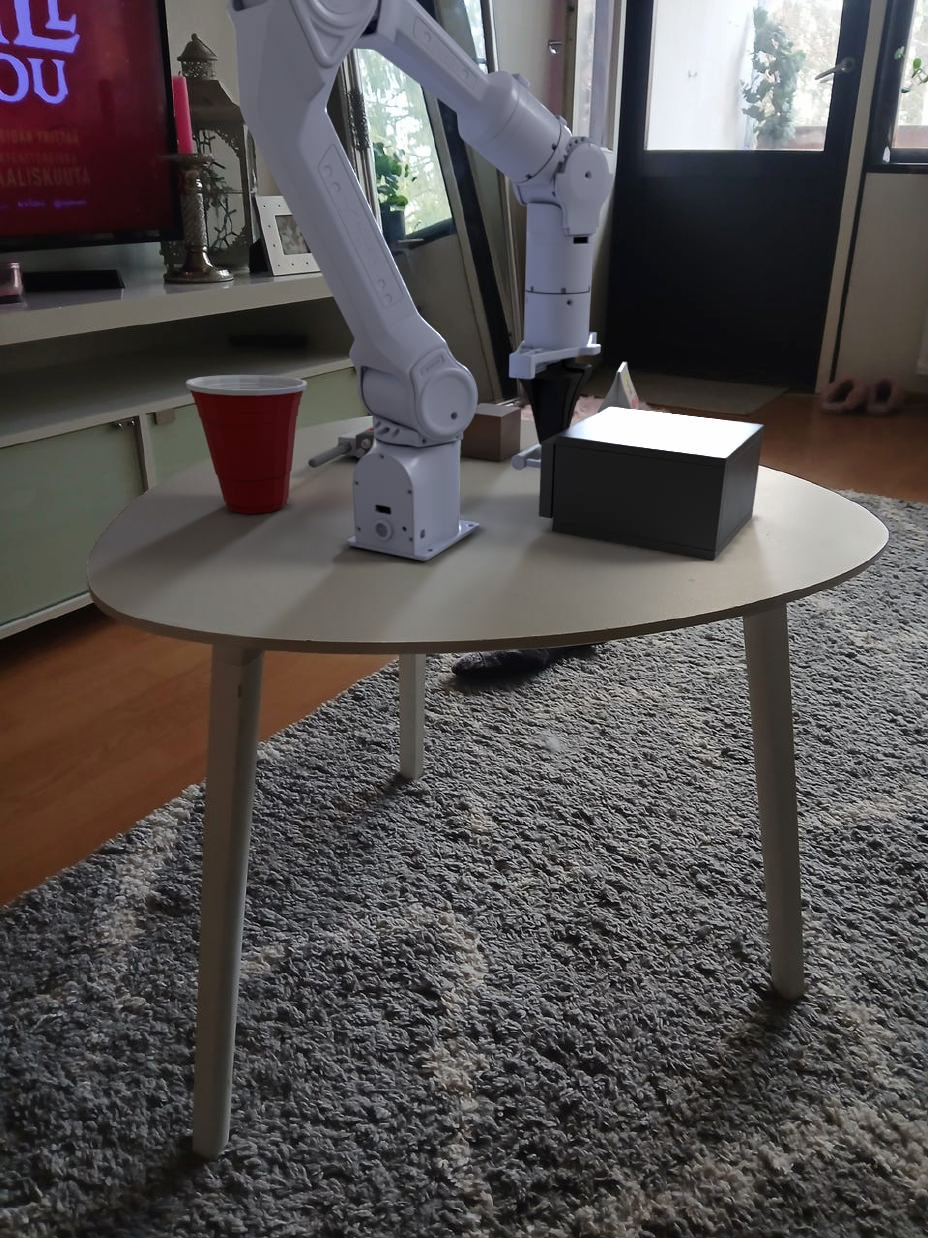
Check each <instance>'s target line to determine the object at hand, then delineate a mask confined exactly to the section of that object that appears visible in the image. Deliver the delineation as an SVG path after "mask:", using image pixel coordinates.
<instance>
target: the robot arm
mask: <svg viewBox="0 0 928 1238" xmlns="http://www.w3.org/2000/svg"><path fill="white" fill-rule="evenodd" d="M225 10H226V12H227V15H228V17H229V20H230V22H231V24H232V27H233V30H234V41H235V43H234V44H235V59H236V77H237V94H238V95H237V96H238V106H239V110H240V113H241V115H242V116H241V117H242V118H243V121H244V123H245V125H246V127H247V129H248V131H249V133H250V135H251V137H252V139H253V141H254V143H255V145H256V146H257V148H258V151H259V152H260V154H261V157H262V159H263V160H264V163H265V164H266V166H267V168H268V170H269V172H270V174H271V176H272V178H273V180H274V182H275V184H276V187H277V189H278V190H279V192H280V194H281V196H282V199H283V200H284V202H285V204H286V206H287V208H288V210H289V212H290V213H291V216H292V218H293V220H294V221H295V224H296V225H297V228H298V230H299V231H300V233H301V235H302V237H303V239H304V241H305V243H306V245H307V247H308V249H309V251H310V254H311V256H312V257H313V260H314V261H315V263H316V265H317V267H318V269H319V271H320V274H321V275H322V277H323V279H324V281H325V283H326V285H327V287H328V289H329V291H330V292H331V295H332V296H333V299H334V300H335V302H336V305H337V307H338V308H339V311H340V313H341V314H342V316H343V318H344V320H345V323H346V325H347V326H348V329H349V330H350V332H351V334H352V336H353V339H354V340H353V342H352V345H351V348H350V350H349V351H348V353H349V354H348V357H349V359H350V360H351V362H352V364H353V367H354V369H355V373H356V380H357V381H356V383H357V394H358V398H359V400H360V403H361V405H362V406H363V408H364V410H365V411H366V412H367V413H368V414H369V415H371V416H372V417H371V418H372V427H373V429H374V440H373V445H372V447H371V449H370V451H369V452H368V453H367V454H366V455H364V456H363V457H362V458H361V459H359V460H358V461H357V463H356V465H355V467H354V470H353V473H352V495H353V497H352V498H353V515H354V517H353V519H354V535H353V536H351V537H349V538H348V539H347V540H346V544H347V545H348V546H350V547H355V548H359V549H364V550H369V551H373V552H379V553H383V554H387V555H393V556H398V557H402V558H406V559H412V560H416V561H417V560H418V561H422V562H423V561H425V562H426V561H429V560H431V559H432V558H434V557H435V556H437V555H438V554H440V553H442V552H443V551H445V550H447V549H448V548H450V547H451V546H453V545H454V544H456V543H458V542H459V541H461V540H463V539H464V538H467V536H469V535H470V534H472V533H474V532H475V531H477V530H479V528H480V524H479V523H478V522H475V521H469V520H464V519H461V440H462V439H463V431H464V430H465V429H466V428H467V427H468V425H469V424H470V422H471V421H472V419H473V416H474V414H475V411H476V408H477V405H478V402H479V401H478V399H479V394H478V387H477V383H476V380H475V378H474V376H473V374H472V373H471V372H470V370H469V369H468V368H467V367H466V366H465V365H463V364H462V363H460V362H459V361H458V360H457V359H456V358H455V357H454V355H453V354H452V352H451V350H450V348H449V346H448V343H447V342H446V340H445V339H444V338H443V337H442V336H441V335H440V334H439V333H438V332H437V331H436V329H434V328H433V327H432V326H431V325H430V324H429V323H428V322H427V321H426V320H425V319H424V318H423V317H422V316H421V315H420V314H419V312H418V310H417V308H416V306H415V304H414V301H413V299H412V297H411V295H410V292H409V290H408V288H407V286H406V284H405V281H404V279H403V277H402V275H401V273H400V270H399V268H398V266H397V263H396V261H395V260H394V257H393V255H392V253H391V250H390V248H389V247H388V244H387V241H386V239H385V237H384V235H383V233H382V230H381V227H380V226H379V224H378V221H377V220H376V217H375V215H374V213H373V211H372V208H371V207H370V204H369V203H368V200H367V198H366V195H365V194H364V191H363V189H362V187H361V184H360V182H359V180H358V178H357V175H356V173H355V172H354V171H355V170H354V169H353V167H352V165H351V162H350V160H349V158H348V155H347V154H346V151H345V149H344V147H343V145H342V142H341V141H340V138H339V136H338V133H337V132H336V129H335V127H334V125H333V122H332V119H331V118H330V116H329V114H328V111H327V104H328V101H329V99H330V98H329V97H330V95H331V92H332V89H333V86H334V82H335V80H336V77H337V74H338V71H339V68H340V66H341V65H342V63H343V62H344V60H345V59H346V57H347V56H348V55H349V54H350V52H351V50H352V49H353V50H371V51H374V52H376V53H378V54H379V55H381V57H383V58H384V59H386V60H387V61H388V62H389V63H391V64H392V65H393V66H395V67H396V68H397V69H399V70H400V71H401V72H402V73H404V74H405V75H407V76H408V77H409V78H410V79H412V80H413V81H415V82H416V83H417V84H419V86H421V87H423V88H424V89H425V90H427V92H429V93H430V94H432V95H433V96H434V97H436V99H438V100H439V101H440V102H442V103H443V104H445V106H447V107H448V108H449V109H451V110H452V111H454V112H455V113H456V116H457V119H456V120H457V129H458V134H459V137H460V138H461V139H462V140H463V142H464V143H466V144H468V146H470V147H471V148H472V149H473V150H475V151H476V152H477V153H478V154H479V155H481V156H482V158H484V159H485V160H486V161H488V162H489V164H491V165H492V166H493V167H494V168H495V169H497V170H498V171H499V172H501V174H503V175H504V176H505V177H507V178H508V180H510V182H511V184H512V185H511V186H512V189H513V192H514V195H515V198H516V199H517V201H518V203H519V204H520V205H521V206H524V207H526V234H525V235H526V237H525V239H526V241H525V273H524V274H525V275H524V276H525V278H524V311H523V313H524V317H523V318H524V320H523V340H522V341H521V342H520V344H519V346H518V347H517V349H516V351H514V352H512V353H510V354H509V360H508V361H509V363H508V364H509V365H508V366H509V367H508V369H509V370H508V378H513V379H518V381H519V383H520V385H521V387H522V388H523V390H524V393H525V394H526V397H527V400H528V402H529V405H530V409H531V413H532V417H533V421H534V427H535V432H536V436H537V440H538V441H537V442H538V443H539V444H540V445H541V443H542V442H543V441H545V440H547V439H549V438H550V437H552V436H554V435H556V434H558V433H560V432H562V431H564V430H566V429H567V428H569V427H571V424H572V420H573V416H574V413H575V409H576V407H577V403H578V400H579V398H580V396H581V394H582V392H583V389H584V387H585V385H586V384H587V382H588V380H589V378H590V377H591V375H592V371H593V369H592V368H593V366H592V364H590V363H581V362H576V360H577V359H576V358H579V357H582V356H583V357H584V356H596V355H598V354H600V353H601V349H602V348H601V346H602V345H601V344H599V343H598V344H597V337H598V336H597V335H598V333H597V332H596V331H595V332H594V331H590V316H591V315H590V314H591V299H592V280H593V279H592V278H593V261H594V260H593V259H594V244H595V243H594V241H595V234H596V233H597V228H599V227H600V215H601V211H602V207H603V205H604V204H605V203H606V201H607V199H608V197H609V195H610V192H611V189H612V185H613V180H614V174H613V173H612V172H611V173H610V168H609V163H608V159H607V156H606V154H605V153H604V151H603V150H602V148H601V147H600V145H599V144H598V143H597V142H596V141H595V140H594V139H592V138H591V137H589V136H585V135H583V136H582V135H577V136H574V135H573V134H572V132H571V131H570V129H569V128H568V127H567V126H568V122H567V121H566V120H565V118H564V117H563V116H562V115H560V114H557V115H554V114H553V113H552V112H551V111H550V110H549V109H548V108H547V107H546V106H544V105H543V104H542V102H541V101H539V100H538V99H537V98H536V97H535V96H534V95H533V94H532V93H531V92H530V91H529V90H528V88H529V87H530V81H529V80H528V79H527V78H526V77H525V76H523V74H521V73H519V72H517V73H509V72H508V71H505V70H496V71H493V72H489V73H485V71H484V70H483V69H482V68H481V67H480V66H479V65H478V64H477V63H476V62H475V61H474V60H473V59H472V58H471V57H470V56H469V55H468V54H467V52H466V51H465V50H464V49H463V48H462V47H461V46H460V44H458V43H457V42H456V41H455V40H454V39H453V38H452V37H451V36H450V35H449V34H448V32H447V31H446V30H445V29H444V28H443V27H442V26H441V25H440V24H439V23H438V22H437V21H436V20H435V19H434V18H433V17H432V16H431V14H430V13H429V12H428V11H427V10H426V9H425V8H424V7H423V6H422V5H421V4H420V2H418V1H417V0H227V3H226V5H225Z"/></svg>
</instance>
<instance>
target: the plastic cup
mask: <svg viewBox="0 0 928 1238" xmlns="http://www.w3.org/2000/svg"><path fill="white" fill-rule="evenodd" d="M185 386H186V388H187V389H188V390H190V393H191V395H192V398H193V401H194V406H196V409H197V413H198V417H199V418H200V421H201V424H202V425H201V426H202V428H203V432H204V435H205V436H204V437H205V439H206V444H207V447H208V450H209V454H210V458H211V462H212V465H213V469H214V473H215V475H216V476H217V480H218V484H219V487H220V490H221V495H222V498H223V501H224V503H225V505H226V508H227V509H229V510H230V511H231V512H234V513H238V514H247V515H248V514H250V515H253V514H266V513H270V512H275V511H278V510H280V509H283V508H284V507H286V506H287V504H288V499H289V495H290V481H291V472H292V470H293V469H292V468H293V461H294V460H293V459H294V448H295V436H296V427H297V419H298V416H299V408H300V405H301V399H302V397H303V393H304V391H305V390H307V386H308V381H306V380H303V379H300V378H294V377H287V376H279V375H278V376H277V375H263V374H262V375H261V374H229V375H227V374H225V375H209V376H199V377H195V378H190V379H187V380H186V381H185Z"/></svg>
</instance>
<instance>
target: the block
mask: <svg viewBox="0 0 928 1238" xmlns="http://www.w3.org/2000/svg"><path fill="white" fill-rule="evenodd" d="M521 427H522V407H519V406H511V405H502V404H494V403H488V402H487V403H485V402H481V403H477V408H476V411H475V414H474V416H473V419H472V421H471V422H470V424H469V425H468V427H467V428H466V429H465V430H464V431H463V439H462V440H460V457H467V458H472V459H479V460H486V461H493V462H498V463H500V462H502V461H504V460H506V459H508V458H510V457H513V456H515V455H517V454H519V453H520V452H521V434H522V433H521V431H522V428H521Z"/></svg>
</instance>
